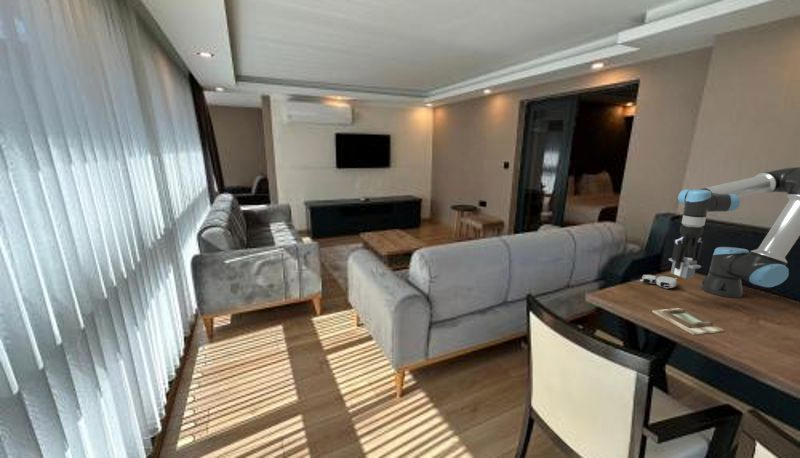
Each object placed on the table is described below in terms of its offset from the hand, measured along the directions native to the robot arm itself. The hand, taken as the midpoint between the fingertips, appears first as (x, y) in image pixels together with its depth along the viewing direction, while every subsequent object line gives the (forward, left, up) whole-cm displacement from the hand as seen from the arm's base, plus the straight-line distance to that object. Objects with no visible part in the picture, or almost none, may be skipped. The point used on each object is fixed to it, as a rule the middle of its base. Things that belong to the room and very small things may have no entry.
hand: (681, 274), depth 145 cm
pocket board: (+10, +14, -15) cm, 23 cm away
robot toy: (-12, -20, -15) cm, 28 cm away
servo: (0, 0, 0) cm, 0 cm away
